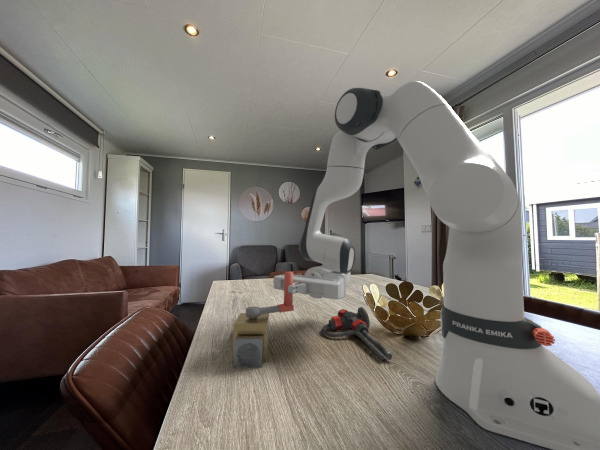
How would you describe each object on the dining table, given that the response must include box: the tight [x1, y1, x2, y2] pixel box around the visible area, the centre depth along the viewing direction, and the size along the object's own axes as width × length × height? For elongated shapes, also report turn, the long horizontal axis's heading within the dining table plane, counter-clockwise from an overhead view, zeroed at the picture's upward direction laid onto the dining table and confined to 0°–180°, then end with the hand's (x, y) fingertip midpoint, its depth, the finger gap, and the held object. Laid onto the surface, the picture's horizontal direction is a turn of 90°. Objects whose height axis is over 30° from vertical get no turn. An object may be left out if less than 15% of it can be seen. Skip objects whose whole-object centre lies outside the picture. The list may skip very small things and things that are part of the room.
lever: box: [245, 271, 295, 318], centre depth 55 cm, size 12×3×9 cm, turn 119°
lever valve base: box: [232, 312, 270, 369], centre depth 52 cm, size 11×7×8 cm, turn 4°
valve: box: [321, 306, 393, 361], centre depth 62 cm, size 6×26×15 cm
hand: (290, 290), depth 55 cm, fingers closed, pressing on lever
